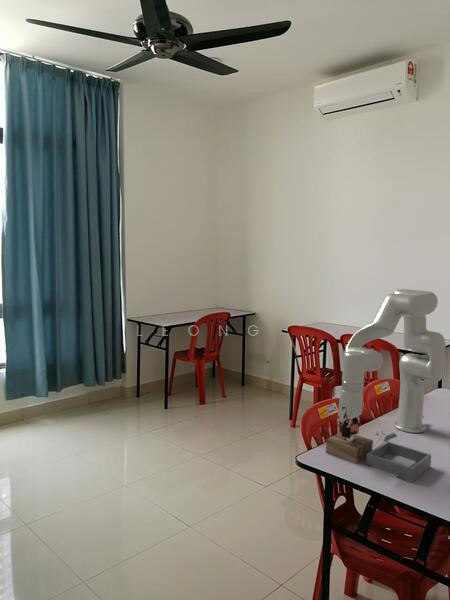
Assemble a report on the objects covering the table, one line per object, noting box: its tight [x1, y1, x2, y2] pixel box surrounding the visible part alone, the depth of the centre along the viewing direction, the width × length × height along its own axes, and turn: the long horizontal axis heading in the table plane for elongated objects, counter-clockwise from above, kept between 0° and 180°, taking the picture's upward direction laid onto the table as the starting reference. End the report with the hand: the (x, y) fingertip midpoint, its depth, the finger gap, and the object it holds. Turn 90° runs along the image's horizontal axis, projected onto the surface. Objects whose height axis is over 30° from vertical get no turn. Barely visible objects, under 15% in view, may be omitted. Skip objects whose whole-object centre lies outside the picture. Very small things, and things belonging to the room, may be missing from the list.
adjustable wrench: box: [372, 428, 395, 450], centre depth 188 cm, size 25×6×2 cm, turn 147°
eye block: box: [325, 431, 374, 464], centre depth 174 cm, size 12×12×6 cm
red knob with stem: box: [345, 420, 359, 443], centre depth 174 cm, size 5×5×11 cm
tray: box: [365, 440, 432, 484], centre depth 166 cm, size 16×16×4 cm
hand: (349, 434), depth 174 cm, fingers closed on red knob with stem, 5 cm apart
